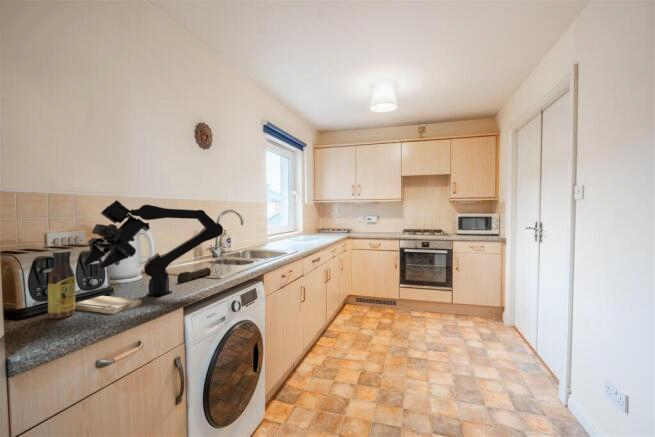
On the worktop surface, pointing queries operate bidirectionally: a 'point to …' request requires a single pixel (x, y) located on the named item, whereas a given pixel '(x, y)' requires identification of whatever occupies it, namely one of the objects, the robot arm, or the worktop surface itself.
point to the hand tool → (192, 275)
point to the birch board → (107, 304)
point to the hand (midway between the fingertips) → (92, 266)
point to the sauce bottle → (61, 287)
